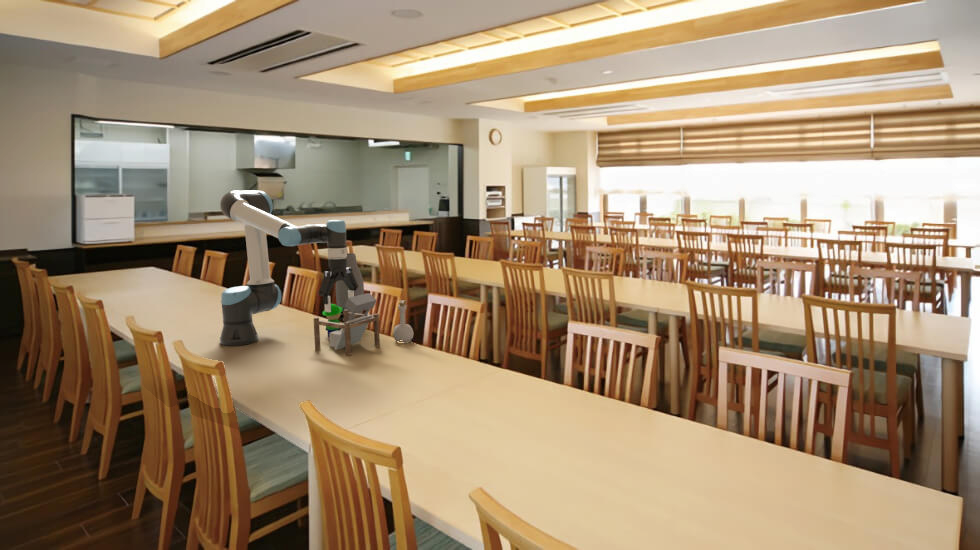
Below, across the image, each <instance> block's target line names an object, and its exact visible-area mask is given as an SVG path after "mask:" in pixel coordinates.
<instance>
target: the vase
mask: <svg viewBox="0 0 980 550" xmlns="http://www.w3.org/2000/svg"><path fill="white" fill-rule="evenodd" d="M345 258H347V267H348V268H352V272H353V275H354V277H355V280H356V282H357V284H358V288H357V290H355V296H358V295H362V294H365V293H364V292H365V290H364V289H365V287H364V284H365V283H364V278H363V275H362V272H361V271H360V268H359V266H358V261H357V255H356V253H351V252H350V253H349V252H347V257H345ZM347 267H346V268H347ZM346 275H347V273H346ZM348 279H349V278H348ZM348 290H350V289H349V288H348V287H347V285H346V284H345V283H344V282H343V280H339V281H337V282H336V283H335V299H336V300H335V301H336V305H337V306H338V307H341V308H344V310H348V311H349V312H351V311H350V310H349V309H348V308H346V307H345V304H346V302H347V299H348ZM351 313H352V312H351ZM356 313H358V314H363V311H360V312H356ZM349 318H350V317H349ZM354 319H357V318H355V317H353V318H352V320H354ZM342 320H343V322H342V323H343V324H344V318H342Z"/></svg>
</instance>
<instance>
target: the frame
mask: <svg viewBox="0 0 980 550" xmlns="http://www.w3.org/2000/svg"><path fill="white" fill-rule="evenodd" d="M343 313H344V321H343V323H344V324H341V322H340V323H334V322H328V320H321V319H320V317H316V316H315V317H313V332H314V335H313V336H314V337H313V338H314V350H315V351H321V349H322V348H321V335H320V334H321V333H320V332H321V331H320V330H321V329H320V326H322V327H323V326H324V327H326V326H329V327H335V328H341V330H343V329H345V347H344V348H345V357H352V345H351V336H350V329H351V328H354V327H357V326H361V325H364V324H367V323H368V324H370V323H373V335H374V336H373V338H374V340H373V343H374V346H375V345H376V346H375V347H379V346H380V344H381V341H380V340H381V339H380V316H379V315H380V314H378V313H374V314H373V315H372V317H371V318H368V319H364V320H361V321H357V322H354V323H351V324H350V322H347V321H348V320H349V317H350V315H351V312H349V311H348V310H343ZM364 314H365V313H362V314H358V313H355V314H354V316H353V317H355V318H361V317H363V316H364ZM378 345H379V346H378Z"/></svg>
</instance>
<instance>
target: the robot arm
mask: <svg viewBox="0 0 980 550" xmlns="http://www.w3.org/2000/svg"><path fill="white" fill-rule="evenodd" d="M273 204H274V203H273V201H272V199H271V197H270V196H269V194H267V192H265V191H264V190H254V189H252V190H230V191H228V192H227V193H225V194H223V196H222V198H221V199H220V202H219V205H220V210H221V213H222V214H223V215H224V216H225V217H226V218H228V219H230V220H232V221H234V222H239V223H241V225H243V226H244V236H245V242H246V246H245V247H246V253H247V255H246V256H247V262H248V263H247V264H248V273H249V280H248V281H247V282H246V285H239V286H233V287H232V286H231V287H229V288H226V289H224V290H223V291H222V292H221V296H220V297H221V300H220V304H221V310H222V311H221V312H222V320H223V321H222V323H223V325H222V330H221V334H220V337H219V343H220V345H221V346H228V347H229V346H230V347H233V346H234V347H235V346H236V347H237V346H245V345H251V344H254V343H256V342H257V341H259V335H258V332H257V329H256V327H255V325H254V321H253V315H255V314H259V313H260V314H261V313H264V312H269V311H271V310H274V309H276V308H278V306H279V305H280V304H281V301H282V291H281V289H280V287H279V285H277V284H276V283H275V280H274V279H273V278H272V277H271V271H270V261H269V250H268V249H269V248H268V240H267V234H268V235H270V236H273V237H274V238H276V239H278V241H279V243H280V244H281V245H282V246H285V247H296V246H302V245H311V244H318V243H320V244H321V243H322V244H327V256H328V260H327V261H328V263H327V264H328V269H329V271H326V270H325V271H323V278H322V281H321V285H320V288H319V291H318V296H321V297H322V301H323V304H324V310H325V312H331V304H332V302H331V295H330V294H331V291H332V290H333V287H334V286H335V285H336V282H337V281H339V280H343V282H344V283H345V284H346V285H347V287H348V288H349V289H350V290H348V298H350V297H354V296H355V290H357V288H358V284H357V282H356V280H355V277H354V275H353V272H352V268H348V267H347V258H345V257H347V253H348V250H347V249H348V247H347V227H346V221H344V220H343V219H330V220H327V221H326V224H318V223H317V224H316V223H310V224H305V225H295V224H292V223H290V222H288V221H286V220H283V219H281V218H279V217H278V216H275V215H273V214H272V212H273V209H274V205H273ZM346 267H347V268H346ZM346 273H347V275H346ZM348 278H349V279H348Z"/></svg>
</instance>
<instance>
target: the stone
mask: <svg viewBox="0 0 980 550" xmlns="http://www.w3.org/2000/svg"><path fill="white" fill-rule="evenodd" d="M341 333H342V330H340V331H339V330H337V331H334V332H331V333H329V337H328V338H329V339H328V340H329V348H330V347H331V348H334V347H335V346H336V344H337V341H338V339H339V337H340V335H341ZM344 348H345V347H343V348H340V349H344ZM340 349H339V350H340Z"/></svg>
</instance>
